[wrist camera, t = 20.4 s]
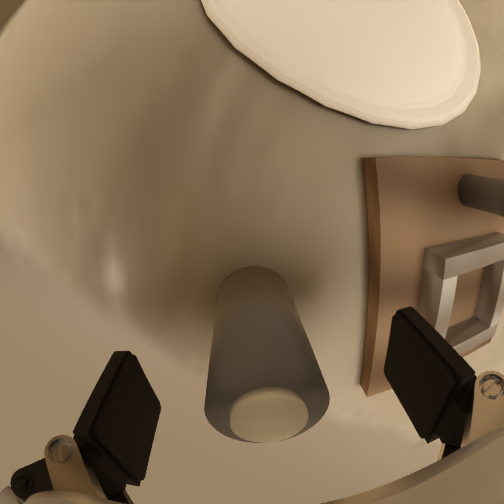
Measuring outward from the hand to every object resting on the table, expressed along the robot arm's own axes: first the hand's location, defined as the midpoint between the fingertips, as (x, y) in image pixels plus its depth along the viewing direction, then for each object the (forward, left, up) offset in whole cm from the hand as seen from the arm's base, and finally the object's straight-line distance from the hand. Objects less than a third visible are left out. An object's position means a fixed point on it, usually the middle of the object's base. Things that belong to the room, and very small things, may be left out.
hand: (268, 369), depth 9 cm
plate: (-18, +10, -7) cm, 22 cm away
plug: (+1, 0, -7) cm, 7 cm away
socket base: (+3, +14, -7) cm, 15 cm away
